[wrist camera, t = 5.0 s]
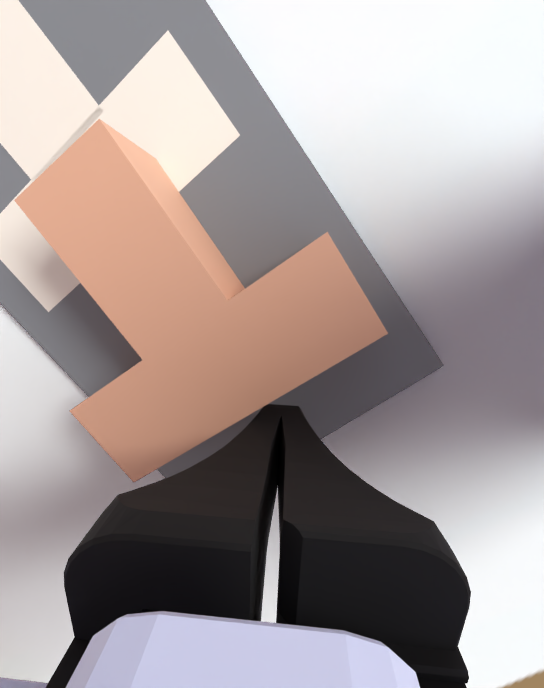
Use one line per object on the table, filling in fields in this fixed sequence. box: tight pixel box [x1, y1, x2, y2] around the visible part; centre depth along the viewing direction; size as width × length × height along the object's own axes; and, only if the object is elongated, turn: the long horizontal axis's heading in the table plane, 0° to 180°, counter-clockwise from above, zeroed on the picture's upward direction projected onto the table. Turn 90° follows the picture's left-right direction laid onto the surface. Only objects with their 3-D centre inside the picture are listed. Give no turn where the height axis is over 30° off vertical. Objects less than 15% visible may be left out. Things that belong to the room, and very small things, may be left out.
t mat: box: [0, 0, 444, 478], centre depth 11 cm, size 20×12×1 cm, turn 37°
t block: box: [14, 119, 388, 482], centre depth 10 cm, size 8×9×3 cm
